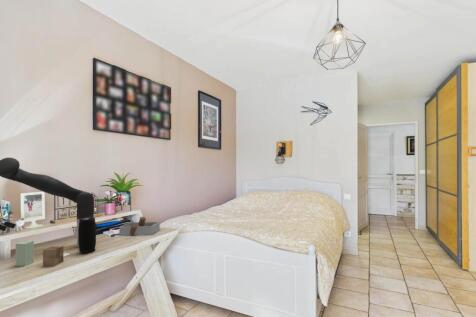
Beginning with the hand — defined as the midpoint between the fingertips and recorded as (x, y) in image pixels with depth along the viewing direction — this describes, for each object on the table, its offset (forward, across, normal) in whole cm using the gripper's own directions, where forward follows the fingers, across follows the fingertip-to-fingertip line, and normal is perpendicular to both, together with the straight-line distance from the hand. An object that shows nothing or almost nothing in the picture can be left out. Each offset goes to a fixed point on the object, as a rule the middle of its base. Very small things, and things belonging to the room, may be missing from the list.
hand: (10, 227), depth 123 cm
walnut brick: (+24, +2, +10) cm, 27 cm away
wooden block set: (+58, +50, -11) cm, 78 cm away
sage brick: (+12, +8, +16) cm, 21 cm away
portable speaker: (+35, +16, +4) cm, 39 cm away
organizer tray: (+58, +50, -11) cm, 78 cm away
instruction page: (+22, +15, +10) cm, 28 cm away
